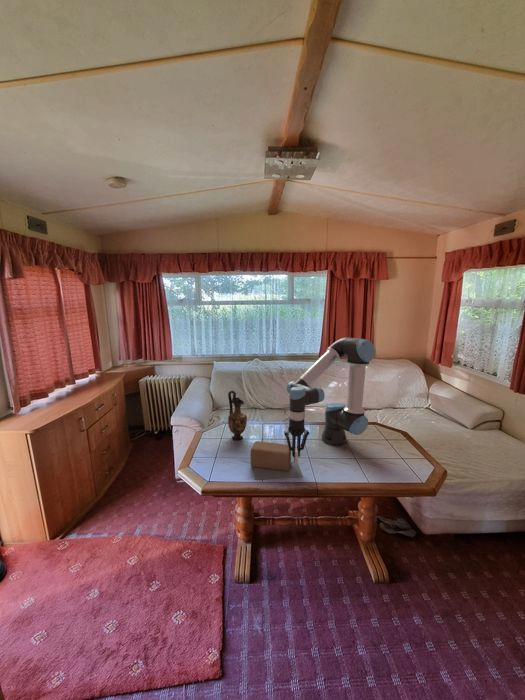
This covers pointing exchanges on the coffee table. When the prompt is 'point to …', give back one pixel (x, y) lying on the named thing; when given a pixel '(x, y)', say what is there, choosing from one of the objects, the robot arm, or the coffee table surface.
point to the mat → (277, 472)
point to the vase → (236, 417)
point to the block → (270, 456)
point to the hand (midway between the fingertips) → (295, 462)
